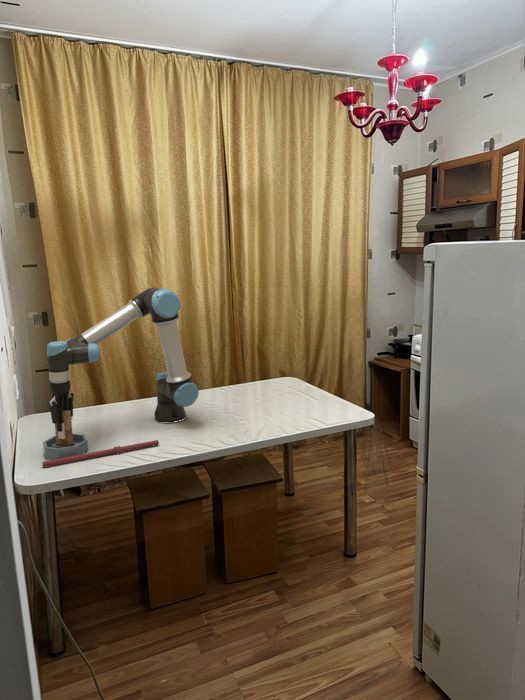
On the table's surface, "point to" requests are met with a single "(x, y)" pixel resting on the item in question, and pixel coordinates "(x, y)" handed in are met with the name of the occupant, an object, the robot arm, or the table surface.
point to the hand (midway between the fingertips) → (64, 436)
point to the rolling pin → (98, 453)
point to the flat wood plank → (68, 429)
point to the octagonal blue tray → (65, 447)
